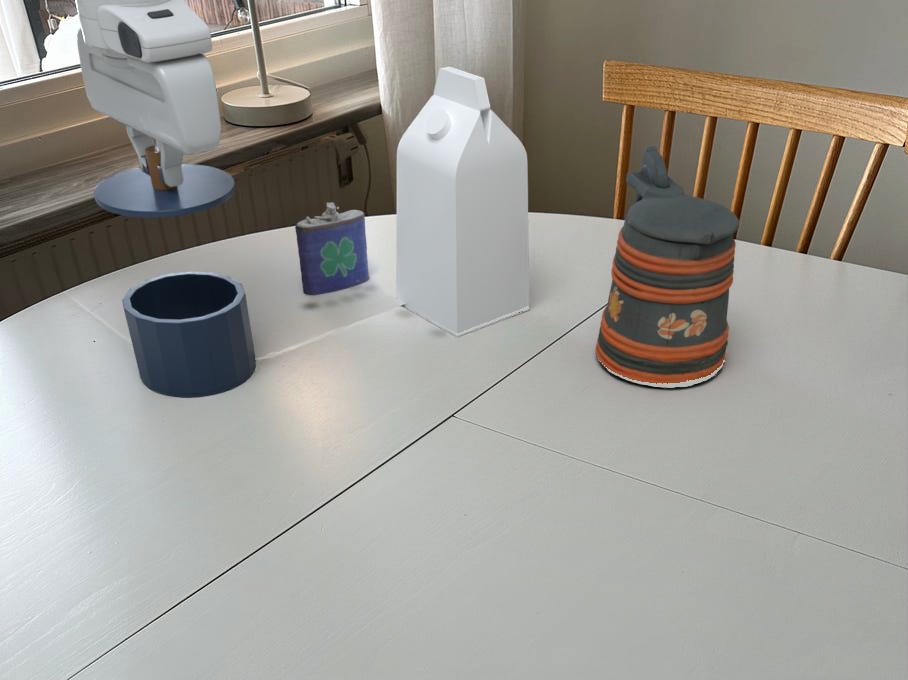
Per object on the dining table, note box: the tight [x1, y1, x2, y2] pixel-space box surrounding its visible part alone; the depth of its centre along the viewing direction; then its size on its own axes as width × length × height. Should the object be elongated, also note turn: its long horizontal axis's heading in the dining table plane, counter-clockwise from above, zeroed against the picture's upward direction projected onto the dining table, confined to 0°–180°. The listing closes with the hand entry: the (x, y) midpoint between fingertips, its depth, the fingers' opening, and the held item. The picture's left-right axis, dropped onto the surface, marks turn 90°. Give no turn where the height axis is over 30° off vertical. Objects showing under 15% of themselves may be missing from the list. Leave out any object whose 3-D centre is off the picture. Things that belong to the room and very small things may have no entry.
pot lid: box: [93, 144, 236, 219], centre depth 100 cm, size 14×14×5 cm
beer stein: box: [595, 145, 740, 390], centre depth 111 cm, size 19×15×20 cm
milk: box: [395, 66, 530, 338], centre depth 117 cm, size 12×12×26 cm
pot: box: [121, 271, 257, 398], centre depth 110 cm, size 13×13×8 cm
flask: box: [294, 201, 370, 296], centre depth 125 cm, size 9×3×11 cm, turn 124°
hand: (163, 179), depth 100 cm, fingers closed on pot lid, 2 cm apart
